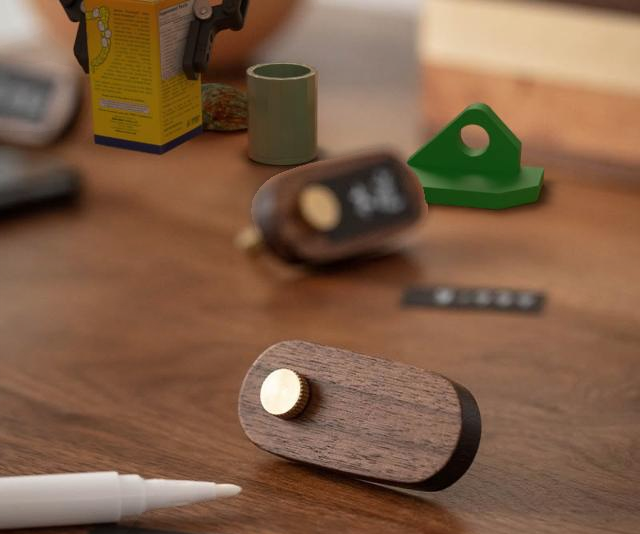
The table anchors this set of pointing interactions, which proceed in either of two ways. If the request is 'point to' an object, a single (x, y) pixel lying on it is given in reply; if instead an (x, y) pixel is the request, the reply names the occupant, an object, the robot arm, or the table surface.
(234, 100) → the seashell
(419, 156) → the bracket
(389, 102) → the table surface
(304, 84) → the cup
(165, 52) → the supplement box
